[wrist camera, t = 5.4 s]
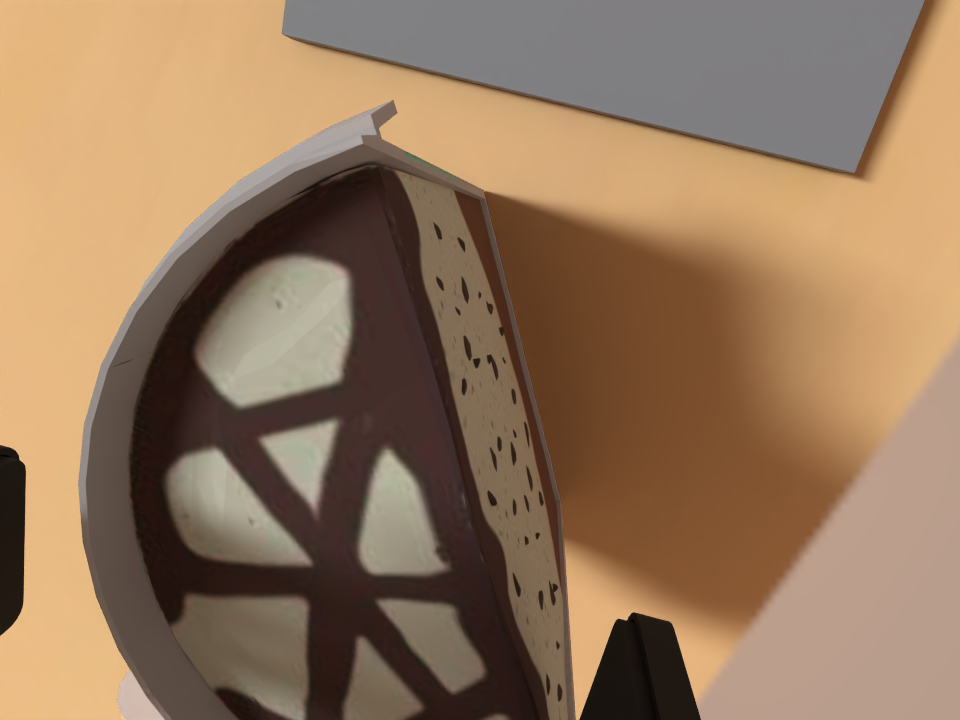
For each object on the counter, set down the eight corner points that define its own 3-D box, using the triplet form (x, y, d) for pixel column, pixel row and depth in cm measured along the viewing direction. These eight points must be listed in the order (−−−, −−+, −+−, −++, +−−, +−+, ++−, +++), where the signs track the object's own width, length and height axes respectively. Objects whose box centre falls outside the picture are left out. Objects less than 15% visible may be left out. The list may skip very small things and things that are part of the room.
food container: (250, 193, 17) (-139, 231, 7) (469, 130, 16) (344, 80, 6) (384, 575, 20) (235, 945, 11) (572, 545, 19) (593, 927, 9)
